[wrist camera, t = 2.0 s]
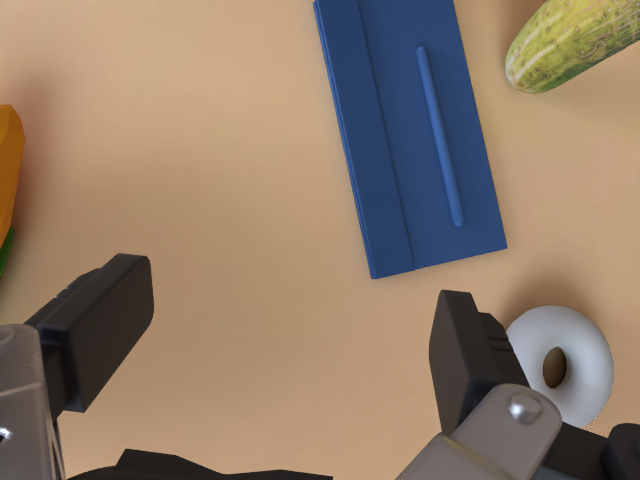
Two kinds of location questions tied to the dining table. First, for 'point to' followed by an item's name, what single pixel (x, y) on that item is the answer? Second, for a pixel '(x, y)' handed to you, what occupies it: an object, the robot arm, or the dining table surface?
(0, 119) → the corn
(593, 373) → the donut
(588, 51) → the vegetable
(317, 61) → the dining table surface
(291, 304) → the dining table surface
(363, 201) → the blue rectangular panel
